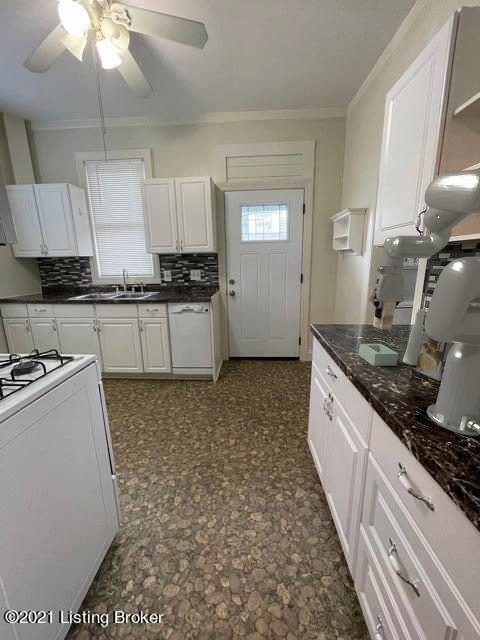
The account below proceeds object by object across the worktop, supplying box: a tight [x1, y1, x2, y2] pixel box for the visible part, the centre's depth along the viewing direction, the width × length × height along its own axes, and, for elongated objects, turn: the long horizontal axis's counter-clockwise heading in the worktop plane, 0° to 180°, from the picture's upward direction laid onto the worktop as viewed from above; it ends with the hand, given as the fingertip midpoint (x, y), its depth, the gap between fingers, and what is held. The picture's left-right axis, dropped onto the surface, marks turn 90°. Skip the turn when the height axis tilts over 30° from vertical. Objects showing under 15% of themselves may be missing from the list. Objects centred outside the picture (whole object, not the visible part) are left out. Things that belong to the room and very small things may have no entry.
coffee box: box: [415, 329, 455, 382], centre depth 96 cm, size 9×6×16 cm
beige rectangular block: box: [372, 299, 396, 331], centre depth 105 cm, size 6×4×12 cm, turn 5°
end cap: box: [358, 343, 399, 367], centre depth 110 cm, size 12×10×5 cm
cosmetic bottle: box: [402, 309, 426, 366], centre depth 106 cm, size 6×6×22 cm
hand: (383, 317), depth 106 cm, fingers closed on beige rectangular block, 4 cm apart
